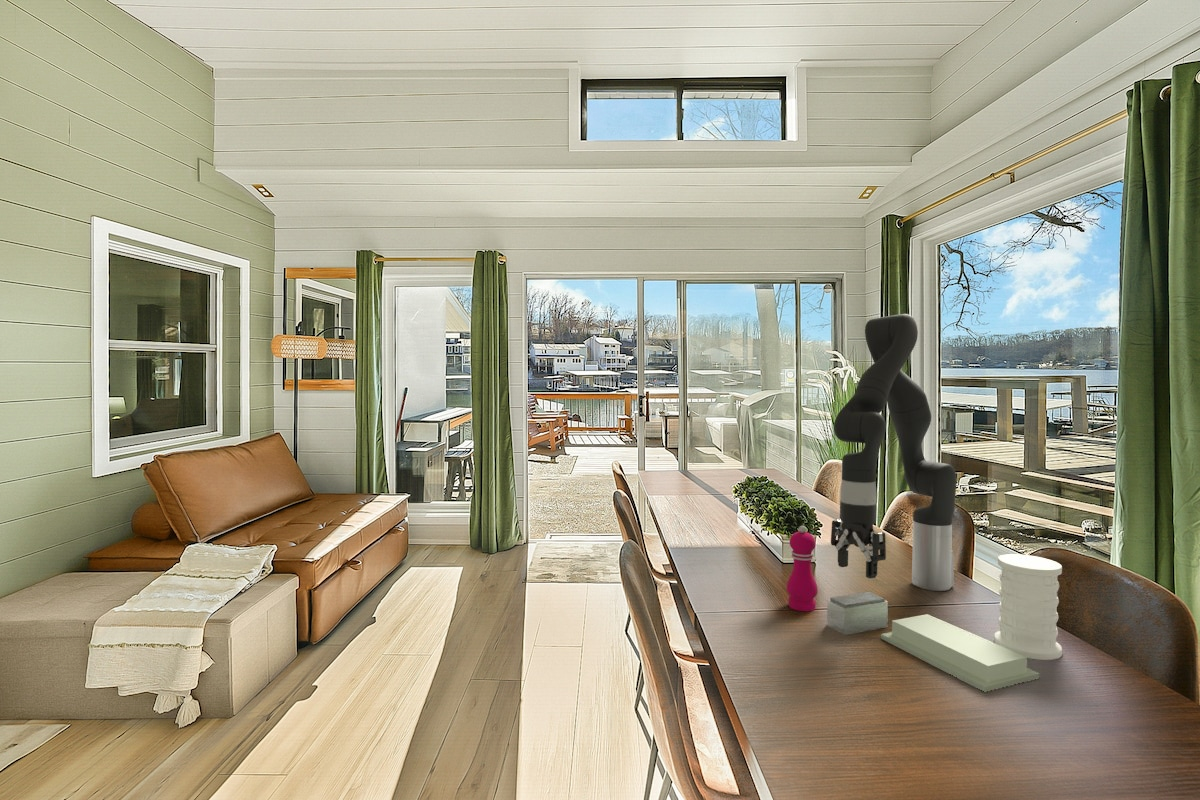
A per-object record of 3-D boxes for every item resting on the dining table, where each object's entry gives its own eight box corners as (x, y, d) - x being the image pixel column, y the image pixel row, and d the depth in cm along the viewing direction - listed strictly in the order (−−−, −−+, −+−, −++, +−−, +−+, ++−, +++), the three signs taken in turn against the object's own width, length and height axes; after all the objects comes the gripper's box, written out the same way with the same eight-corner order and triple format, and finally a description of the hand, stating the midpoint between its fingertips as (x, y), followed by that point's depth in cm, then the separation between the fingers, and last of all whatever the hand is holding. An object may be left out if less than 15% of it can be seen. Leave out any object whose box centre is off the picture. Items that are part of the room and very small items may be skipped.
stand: (930, 628, 137) (930, 611, 137) (1039, 678, 115) (1039, 657, 115) (880, 638, 132) (881, 620, 132) (984, 692, 110) (985, 670, 110)
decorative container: (1050, 639, 132) (1052, 556, 131) (1071, 663, 121) (1073, 573, 120) (987, 632, 135) (989, 551, 135) (1002, 655, 124) (1004, 567, 124)
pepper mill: (819, 613, 147) (820, 530, 146) (787, 611, 148) (788, 528, 147) (815, 602, 154) (816, 522, 153) (785, 600, 155) (785, 521, 154)
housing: (869, 618, 144) (869, 590, 143) (887, 627, 139) (887, 598, 138) (827, 626, 140) (827, 597, 139) (844, 635, 134) (844, 605, 134)
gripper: (896, 505, 133) (894, 580, 133) (848, 493, 146) (847, 561, 147) (868, 507, 130) (867, 583, 131) (822, 495, 143) (821, 564, 144)
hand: (856, 571), depth 139 cm, fingers open, 8 cm apart
